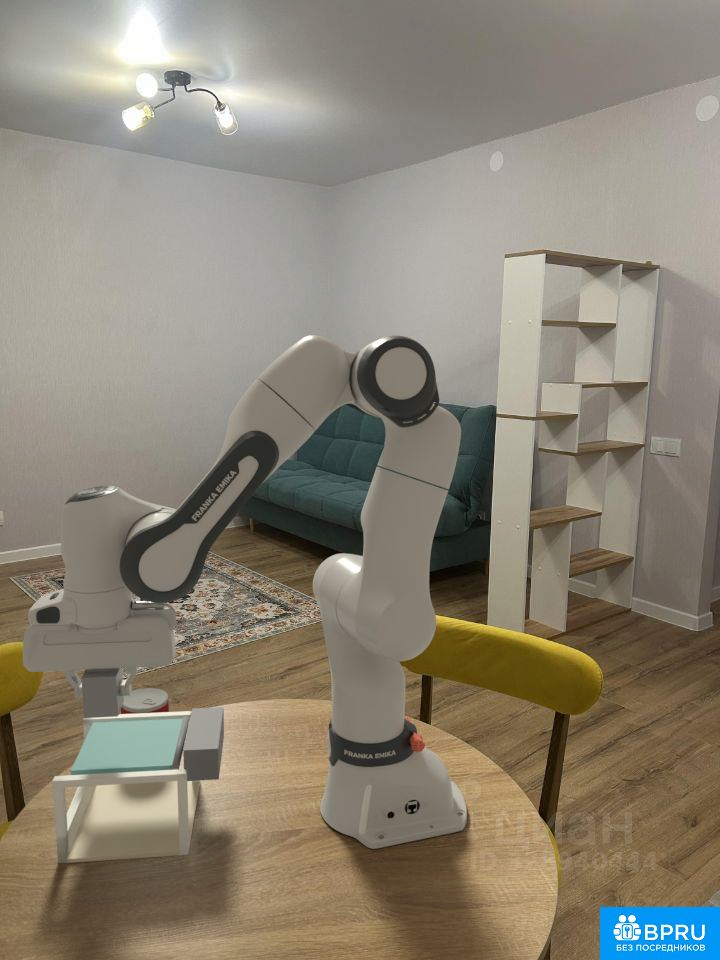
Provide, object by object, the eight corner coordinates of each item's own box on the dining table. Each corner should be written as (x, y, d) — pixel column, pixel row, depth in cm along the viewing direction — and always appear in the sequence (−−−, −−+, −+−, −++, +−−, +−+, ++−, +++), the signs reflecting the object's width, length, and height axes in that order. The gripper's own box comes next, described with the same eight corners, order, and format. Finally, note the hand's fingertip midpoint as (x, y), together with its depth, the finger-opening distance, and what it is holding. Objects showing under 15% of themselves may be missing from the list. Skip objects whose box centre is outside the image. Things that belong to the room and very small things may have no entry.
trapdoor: (224, 731, 117) (223, 704, 116) (218, 783, 104) (217, 752, 103) (94, 738, 115) (93, 709, 114) (70, 791, 101) (68, 760, 100)
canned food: (158, 772, 123) (155, 711, 121) (114, 766, 124) (111, 706, 122) (178, 747, 130) (176, 690, 128) (136, 742, 132) (134, 685, 130)
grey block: (123, 700, 107) (122, 662, 106) (118, 716, 103) (116, 676, 102) (91, 702, 107) (89, 663, 106) (83, 718, 102) (81, 677, 101)
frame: (200, 781, 120) (198, 710, 118) (188, 854, 103) (185, 773, 101) (89, 787, 118) (84, 715, 116) (58, 863, 101) (52, 781, 99)
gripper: (177, 592, 106) (180, 681, 109) (29, 597, 104) (35, 688, 106) (172, 608, 100) (176, 702, 103) (15, 613, 97) (22, 709, 100)
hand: (103, 695), depth 104 cm, fingers closed on grey block, 5 cm apart
